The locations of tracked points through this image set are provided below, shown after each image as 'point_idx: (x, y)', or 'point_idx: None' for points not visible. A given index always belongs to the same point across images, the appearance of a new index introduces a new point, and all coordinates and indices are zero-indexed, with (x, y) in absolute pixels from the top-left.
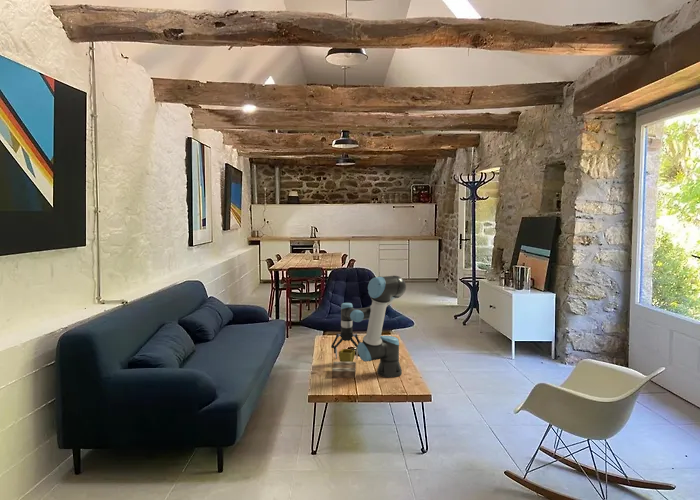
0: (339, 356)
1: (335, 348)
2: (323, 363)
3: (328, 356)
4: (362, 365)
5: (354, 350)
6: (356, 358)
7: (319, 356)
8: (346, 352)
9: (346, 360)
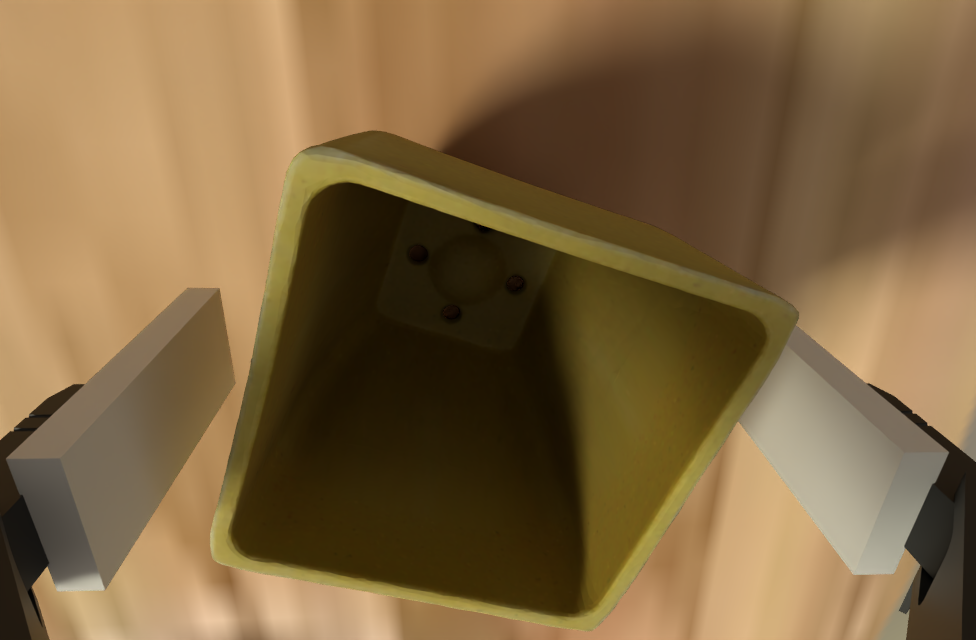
0: (704, 254)
1: (968, 475)
2: (910, 321)
3: (748, 625)
4: (117, 199)
5: (221, 518)
6: (210, 294)
7: (876, 619)
8: (490, 528)
9: (482, 167)
